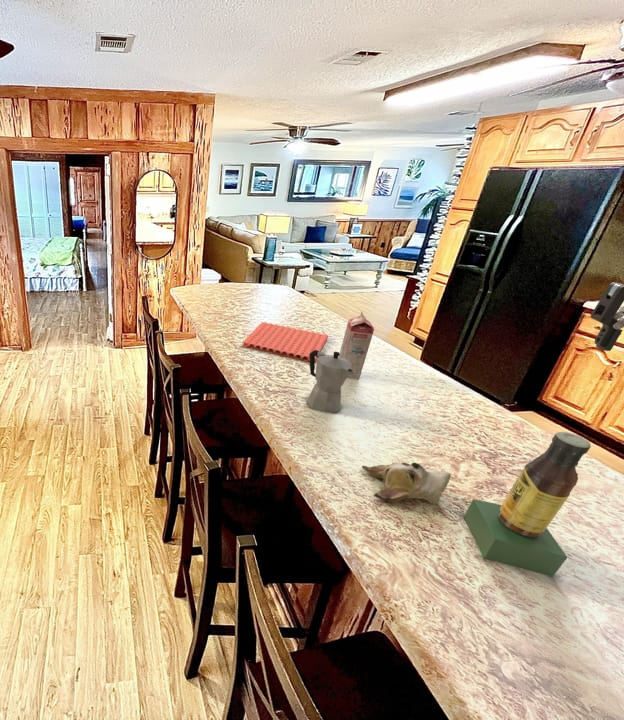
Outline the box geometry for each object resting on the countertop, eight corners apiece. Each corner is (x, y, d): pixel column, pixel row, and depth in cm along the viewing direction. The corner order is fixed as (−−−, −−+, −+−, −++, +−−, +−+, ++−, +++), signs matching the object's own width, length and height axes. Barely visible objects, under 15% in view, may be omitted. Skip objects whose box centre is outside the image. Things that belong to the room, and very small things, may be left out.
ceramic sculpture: (466, 485, 75) (380, 475, 78) (453, 518, 78) (372, 507, 82) (441, 451, 84) (366, 444, 88) (430, 482, 88) (358, 474, 91)
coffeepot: (352, 414, 113) (369, 358, 105) (328, 421, 109) (344, 364, 101) (312, 389, 125) (325, 338, 117) (290, 394, 122) (301, 342, 114)
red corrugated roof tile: (315, 363, 142) (316, 358, 141) (241, 346, 155) (242, 341, 154) (327, 339, 164) (328, 334, 163) (261, 325, 177) (262, 321, 176)
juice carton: (338, 376, 133) (354, 316, 124) (335, 368, 139) (351, 310, 130) (359, 379, 132) (377, 319, 122) (355, 371, 137) (372, 312, 128)
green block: (522, 534, 76) (536, 512, 73) (550, 580, 67) (567, 557, 64) (461, 520, 78) (473, 498, 76) (481, 562, 70) (495, 539, 67)
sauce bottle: (499, 506, 74) (549, 420, 65) (543, 527, 70) (603, 438, 61) (491, 524, 70) (543, 435, 62) (537, 547, 66) (600, 455, 57)
